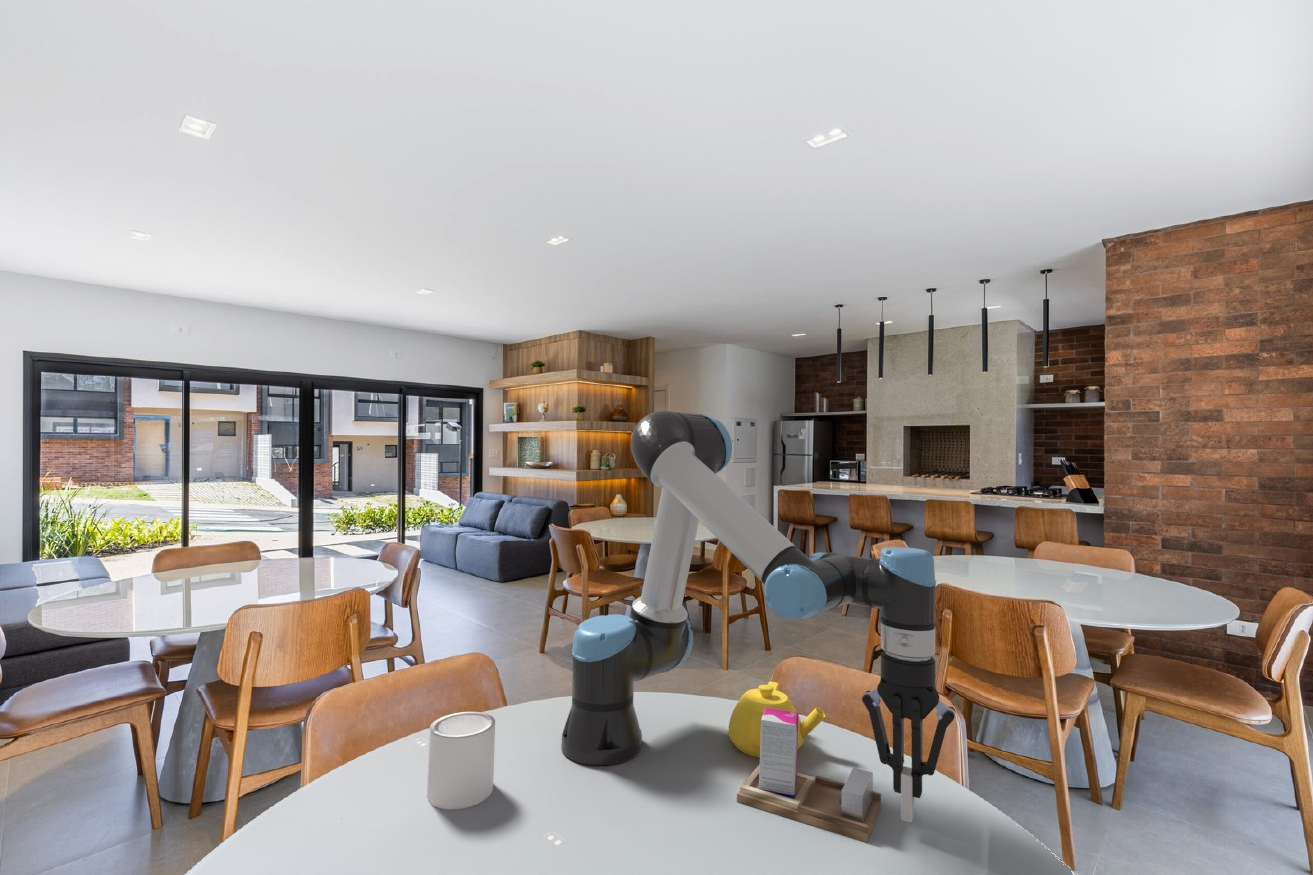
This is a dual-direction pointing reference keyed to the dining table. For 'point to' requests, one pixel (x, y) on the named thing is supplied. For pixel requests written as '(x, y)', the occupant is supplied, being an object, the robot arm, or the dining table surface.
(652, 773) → the dining table surface
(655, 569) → the robot arm
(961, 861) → the dining table surface
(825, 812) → the board
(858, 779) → the block
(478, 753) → the mug
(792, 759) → the supplement box
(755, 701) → the teapot
